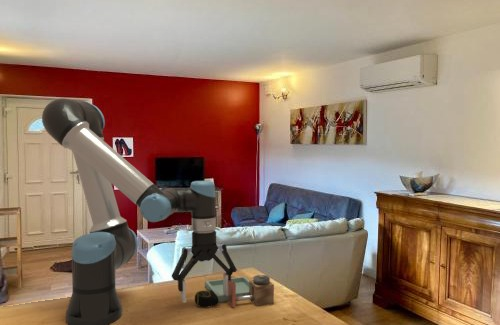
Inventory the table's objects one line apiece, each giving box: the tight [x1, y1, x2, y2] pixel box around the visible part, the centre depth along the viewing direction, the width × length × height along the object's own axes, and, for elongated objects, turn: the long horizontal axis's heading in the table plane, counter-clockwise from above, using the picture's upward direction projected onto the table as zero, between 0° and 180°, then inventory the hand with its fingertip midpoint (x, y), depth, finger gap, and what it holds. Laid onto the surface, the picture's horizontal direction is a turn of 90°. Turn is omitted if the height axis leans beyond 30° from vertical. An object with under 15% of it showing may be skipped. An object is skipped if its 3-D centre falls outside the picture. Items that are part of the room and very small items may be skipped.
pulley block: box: [248, 274, 275, 307], centre depth 133 cm, size 6×6×8 cm
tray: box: [204, 276, 251, 304], centre depth 142 cm, size 15×15×2 cm
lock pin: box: [227, 280, 254, 308], centre depth 132 cm, size 14×4×7 cm, turn 112°
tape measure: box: [194, 290, 219, 308], centre depth 131 cm, size 7×7×4 cm
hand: (205, 298), depth 131 cm, fingers open, 13 cm apart
